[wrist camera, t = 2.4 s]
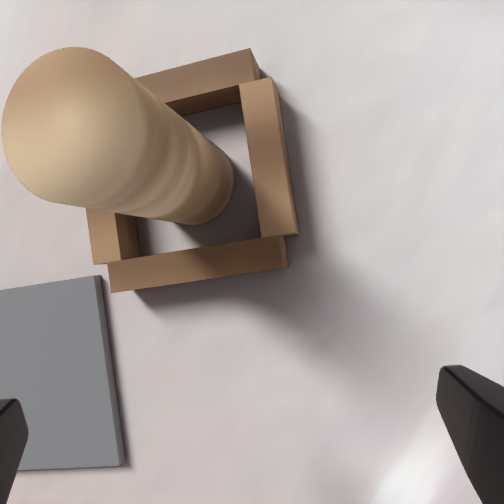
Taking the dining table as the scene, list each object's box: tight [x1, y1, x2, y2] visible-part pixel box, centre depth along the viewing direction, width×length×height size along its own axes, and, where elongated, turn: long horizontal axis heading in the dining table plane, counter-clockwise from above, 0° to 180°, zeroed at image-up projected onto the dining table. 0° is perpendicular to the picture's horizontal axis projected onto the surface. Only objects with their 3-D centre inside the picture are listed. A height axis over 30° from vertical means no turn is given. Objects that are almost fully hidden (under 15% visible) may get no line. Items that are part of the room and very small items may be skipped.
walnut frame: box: [86, 48, 299, 293], centre depth 21 cm, size 10×10×2 cm
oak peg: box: [2, 47, 235, 225], centre depth 17 cm, size 4×4×10 cm
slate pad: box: [0, 275, 125, 470], centre depth 23 cm, size 10×10×1 cm
